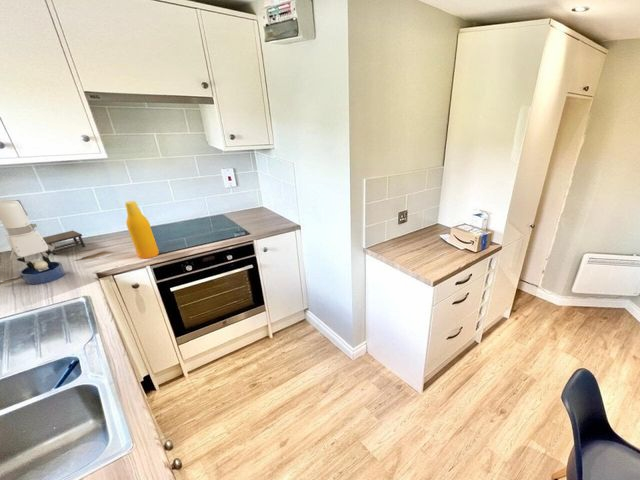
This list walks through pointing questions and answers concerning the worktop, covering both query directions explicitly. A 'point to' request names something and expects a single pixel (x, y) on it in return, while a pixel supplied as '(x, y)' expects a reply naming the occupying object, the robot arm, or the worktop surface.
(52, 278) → the bowl
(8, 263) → the worktop surface
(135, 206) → the beer bottle
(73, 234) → the stand
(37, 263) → the potato
